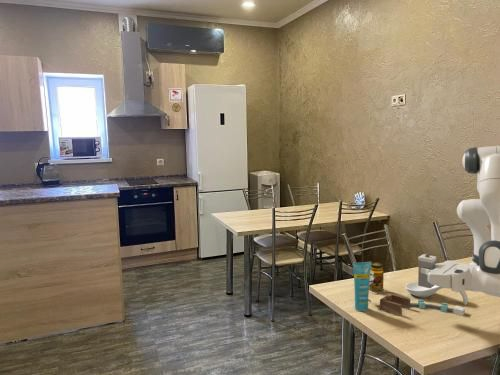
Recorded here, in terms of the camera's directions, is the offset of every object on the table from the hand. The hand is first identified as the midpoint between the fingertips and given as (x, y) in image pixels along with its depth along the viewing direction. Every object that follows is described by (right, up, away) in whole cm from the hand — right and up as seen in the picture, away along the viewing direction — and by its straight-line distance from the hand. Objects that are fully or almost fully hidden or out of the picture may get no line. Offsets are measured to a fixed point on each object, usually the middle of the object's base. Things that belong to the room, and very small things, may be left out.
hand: (424, 267), depth 141 cm
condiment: (-9, -16, +27) cm, 33 cm away
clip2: (+3, -17, +9) cm, 20 cm away
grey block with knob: (+1, -7, 0) cm, 7 cm away
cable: (+6, -17, +6) cm, 19 cm away
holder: (-8, -18, +7) cm, 20 cm away
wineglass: (-17, -17, +15) cm, 29 cm away
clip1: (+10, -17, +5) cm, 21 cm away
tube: (-21, -18, +8) cm, 29 cm away
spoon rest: (+13, -16, +17) cm, 27 cm away
